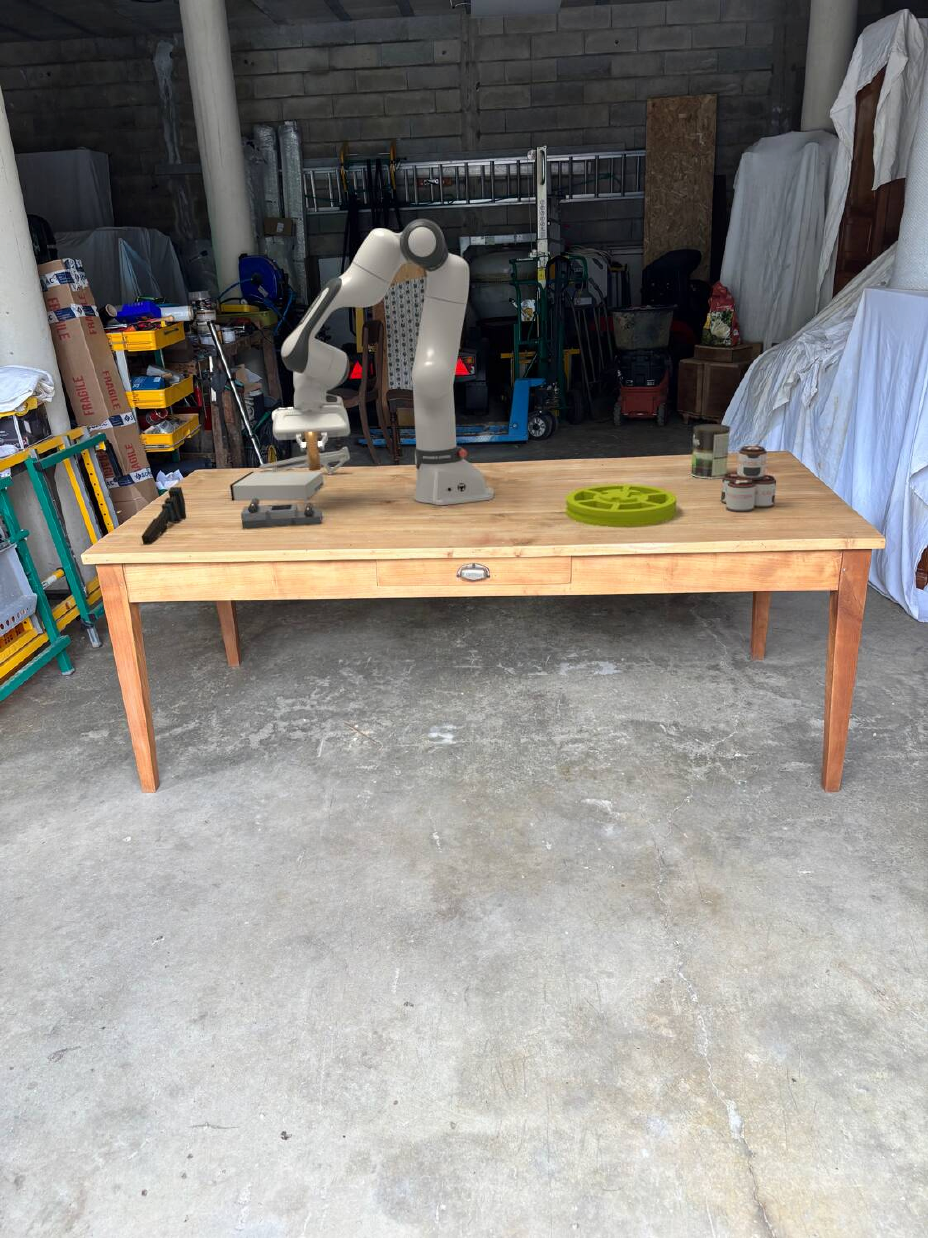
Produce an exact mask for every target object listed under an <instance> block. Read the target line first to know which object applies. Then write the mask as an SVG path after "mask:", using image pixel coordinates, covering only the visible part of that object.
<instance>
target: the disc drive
mask: <svg viewBox="0 0 928 1238" xmlns="http://www.w3.org/2000/svg"><path fill="white" fill-rule="evenodd" d="M323 485H325V483H324V474H323V471H295V472H294V471H290V472H289V471H285V472H284V471H283V472H282V471H276V472H263V473H260V472H254V471H250V472H249V473H248V474H245V475H244V476H242V477H241V478H239V479H237V480H236V481H234V482H233V483H231V484H230V485H229V488H230V495H231V496H230V497H231V501H232V502H233V501H252V500H253V499H254V498H257V499H258V500H259V501H307V500H309V499H310V498H311V497H312V496H314V495H315V494H316V493H317V492H319V491H320V489H321V488H320V487H322V486H323ZM323 487H324V486H323ZM323 487H322V488H323ZM319 488H320V489H319ZM315 492H316V493H315ZM314 493H315V494H314ZM308 498H309V499H308Z"/></svg>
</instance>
